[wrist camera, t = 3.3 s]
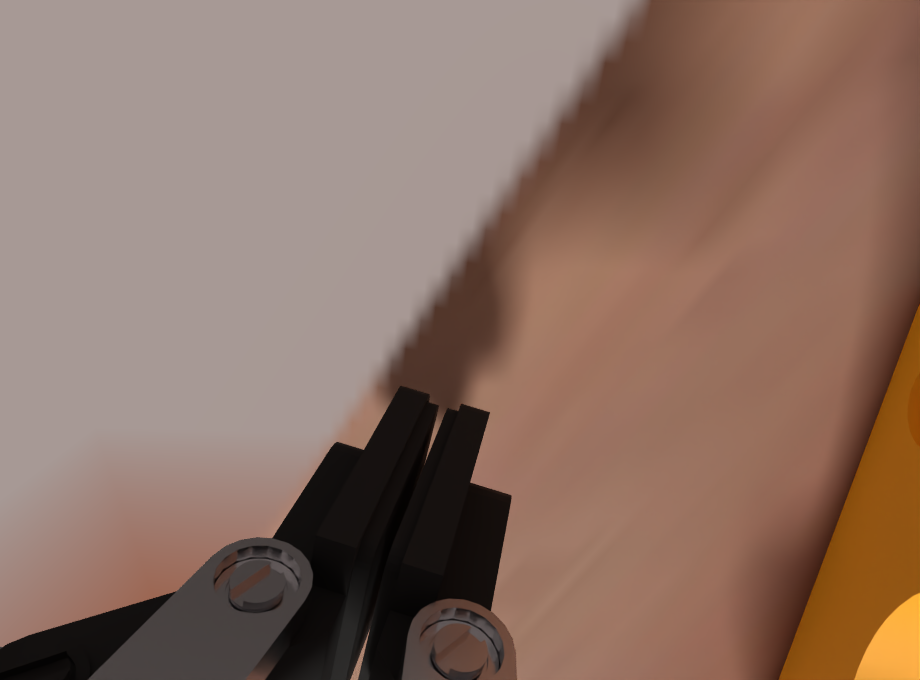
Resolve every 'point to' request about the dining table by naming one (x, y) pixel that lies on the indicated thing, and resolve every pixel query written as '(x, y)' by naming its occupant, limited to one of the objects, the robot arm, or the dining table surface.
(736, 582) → the dining table surface
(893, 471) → the pipe clamp
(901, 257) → the dining table surface
